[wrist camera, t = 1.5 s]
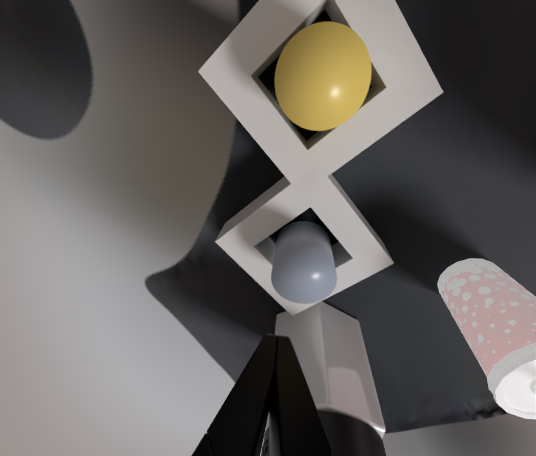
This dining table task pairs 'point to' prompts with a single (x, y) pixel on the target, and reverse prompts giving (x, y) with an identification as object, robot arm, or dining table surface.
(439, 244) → the dining table surface
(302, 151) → the hollow square frame
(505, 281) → the beverage cup
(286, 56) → the mustard button
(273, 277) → the slate button
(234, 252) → the light gray housing
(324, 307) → the jar
